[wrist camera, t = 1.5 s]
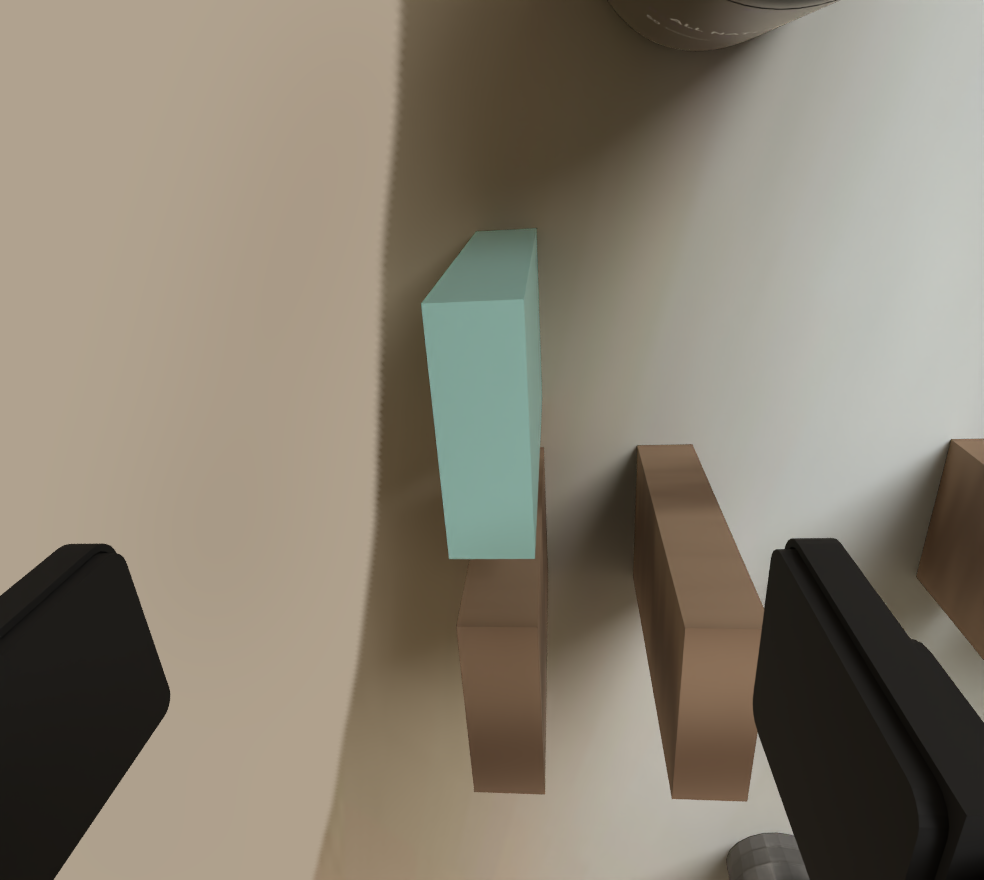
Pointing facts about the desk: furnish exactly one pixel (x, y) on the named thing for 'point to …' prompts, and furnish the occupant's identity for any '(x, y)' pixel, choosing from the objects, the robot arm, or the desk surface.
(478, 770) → the domino
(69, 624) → the robot arm
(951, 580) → the domino
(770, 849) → the beverage cup
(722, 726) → the domino
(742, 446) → the desk surface
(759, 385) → the desk surface
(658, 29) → the supplement bottle
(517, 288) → the teal domino
